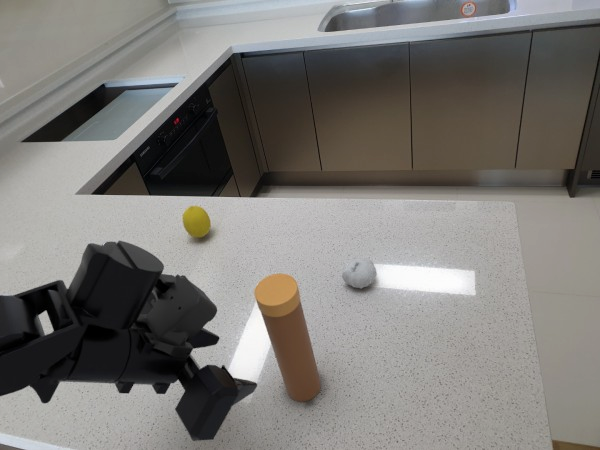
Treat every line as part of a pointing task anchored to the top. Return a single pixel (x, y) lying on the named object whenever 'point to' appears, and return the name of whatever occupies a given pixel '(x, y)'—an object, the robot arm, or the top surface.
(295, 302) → the orange cylinder
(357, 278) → the garlic
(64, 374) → the robot arm
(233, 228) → the top surface
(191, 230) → the lemon
